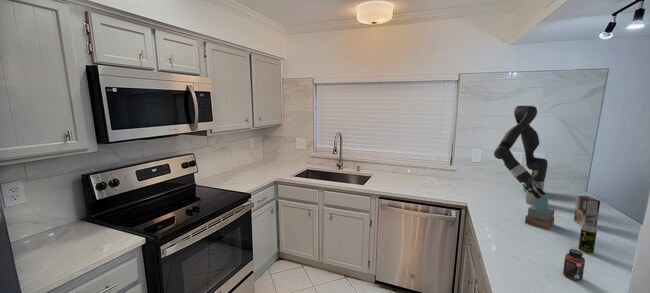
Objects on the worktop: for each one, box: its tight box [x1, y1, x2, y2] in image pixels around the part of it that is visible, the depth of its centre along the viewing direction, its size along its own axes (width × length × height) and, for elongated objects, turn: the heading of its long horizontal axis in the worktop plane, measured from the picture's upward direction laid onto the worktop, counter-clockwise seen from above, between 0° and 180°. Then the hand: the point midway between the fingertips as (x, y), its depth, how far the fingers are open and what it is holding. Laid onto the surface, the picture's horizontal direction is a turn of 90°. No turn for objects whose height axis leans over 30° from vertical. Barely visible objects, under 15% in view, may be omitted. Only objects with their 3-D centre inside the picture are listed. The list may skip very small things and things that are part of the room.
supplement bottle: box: [562, 248, 586, 281], centre depth 110 cm, size 6×6×11 cm
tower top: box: [527, 205, 555, 222], centre depth 159 cm, size 10×10×5 cm
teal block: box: [535, 194, 550, 211], centre depth 158 cm, size 5×5×8 cm
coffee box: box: [573, 195, 601, 229], centre depth 158 cm, size 9×6×16 cm
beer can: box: [578, 225, 598, 254], centre depth 129 cm, size 5×5×12 cm
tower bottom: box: [524, 214, 555, 231], centre depth 160 cm, size 11×11×5 cm
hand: (541, 196), depth 157 cm, fingers open, 8 cm apart
